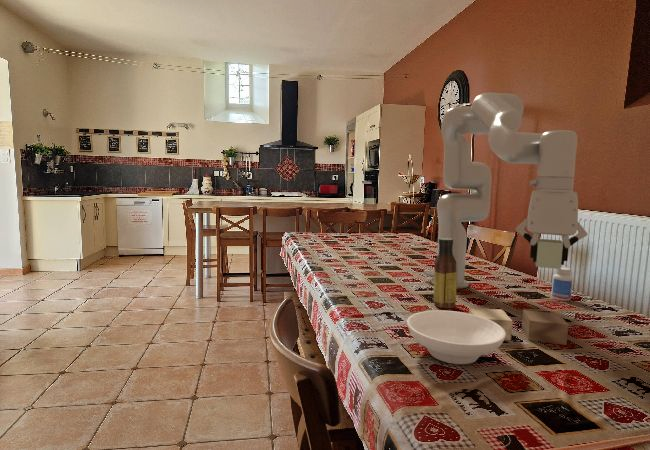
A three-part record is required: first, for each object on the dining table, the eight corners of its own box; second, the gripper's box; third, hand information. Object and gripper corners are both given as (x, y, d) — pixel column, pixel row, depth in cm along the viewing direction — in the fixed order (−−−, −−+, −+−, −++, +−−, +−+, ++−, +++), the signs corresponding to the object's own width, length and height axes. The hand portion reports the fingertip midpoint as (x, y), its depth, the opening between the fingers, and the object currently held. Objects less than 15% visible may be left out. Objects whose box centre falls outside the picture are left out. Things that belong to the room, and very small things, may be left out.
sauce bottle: (455, 304, 122) (460, 237, 120) (455, 310, 116) (459, 241, 114) (433, 301, 124) (436, 236, 122) (431, 307, 118) (435, 239, 116)
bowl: (446, 388, 74) (448, 351, 73) (387, 345, 92) (389, 315, 91) (525, 369, 82) (528, 336, 81) (457, 333, 99) (459, 306, 99)
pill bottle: (573, 301, 127) (576, 270, 126) (554, 300, 128) (557, 269, 127) (566, 296, 133) (569, 267, 132) (548, 295, 134) (551, 265, 133)
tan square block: (528, 341, 96) (529, 320, 96) (521, 329, 104) (523, 309, 103) (566, 345, 94) (568, 324, 94) (556, 333, 102) (558, 313, 101)
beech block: (474, 338, 97) (476, 318, 96) (467, 326, 105) (469, 307, 104) (510, 341, 96) (512, 320, 95) (500, 328, 104) (502, 309, 103)
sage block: (536, 266, 96) (538, 241, 96) (535, 262, 101) (537, 238, 100) (560, 269, 94) (563, 243, 94) (558, 265, 99) (560, 240, 98)
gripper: (514, 184, 96) (508, 261, 98) (601, 186, 89) (593, 269, 91) (514, 184, 102) (508, 256, 105) (594, 186, 95) (587, 263, 98)
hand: (547, 261), depth 98 cm, fingers closed on sage block, 5 cm apart
